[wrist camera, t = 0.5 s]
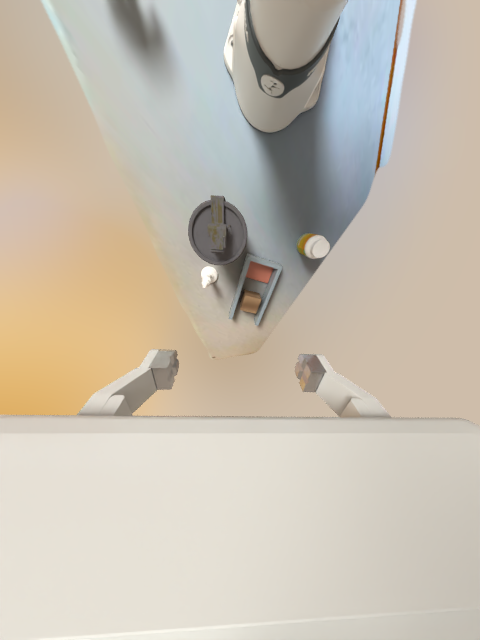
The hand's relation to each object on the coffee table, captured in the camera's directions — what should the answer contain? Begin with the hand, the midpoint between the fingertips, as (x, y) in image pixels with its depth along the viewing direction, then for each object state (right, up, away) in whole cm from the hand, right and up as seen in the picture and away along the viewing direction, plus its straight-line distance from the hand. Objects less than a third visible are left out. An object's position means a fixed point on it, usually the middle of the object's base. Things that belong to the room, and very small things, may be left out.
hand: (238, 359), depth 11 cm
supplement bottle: (+18, +24, +36) cm, 47 cm away
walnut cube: (+3, +10, +44) cm, 45 cm away
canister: (-4, +27, +33) cm, 43 cm away
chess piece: (-9, +16, +40) cm, 44 cm away
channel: (+4, +12, +42) cm, 44 cm away
